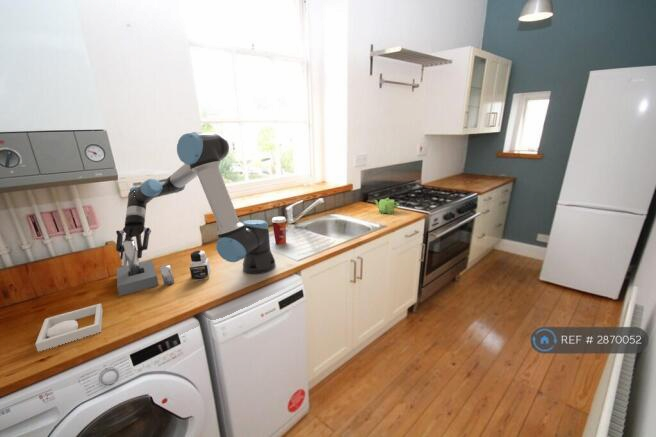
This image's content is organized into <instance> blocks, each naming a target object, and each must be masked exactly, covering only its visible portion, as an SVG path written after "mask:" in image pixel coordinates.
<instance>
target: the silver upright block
mask: <svg viewBox="0 0 656 437" xmlns="http://www.w3.org/2000/svg"><path fill="white" fill-rule="evenodd" d="M159 270H160V274H161V278H162V282H163V286H166V287H167V286H171V285H173V284H174V283H175V279H174V274H173V271H172V267H171V265H170V264H163V265H162V266H160V267H159Z"/></svg>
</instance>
